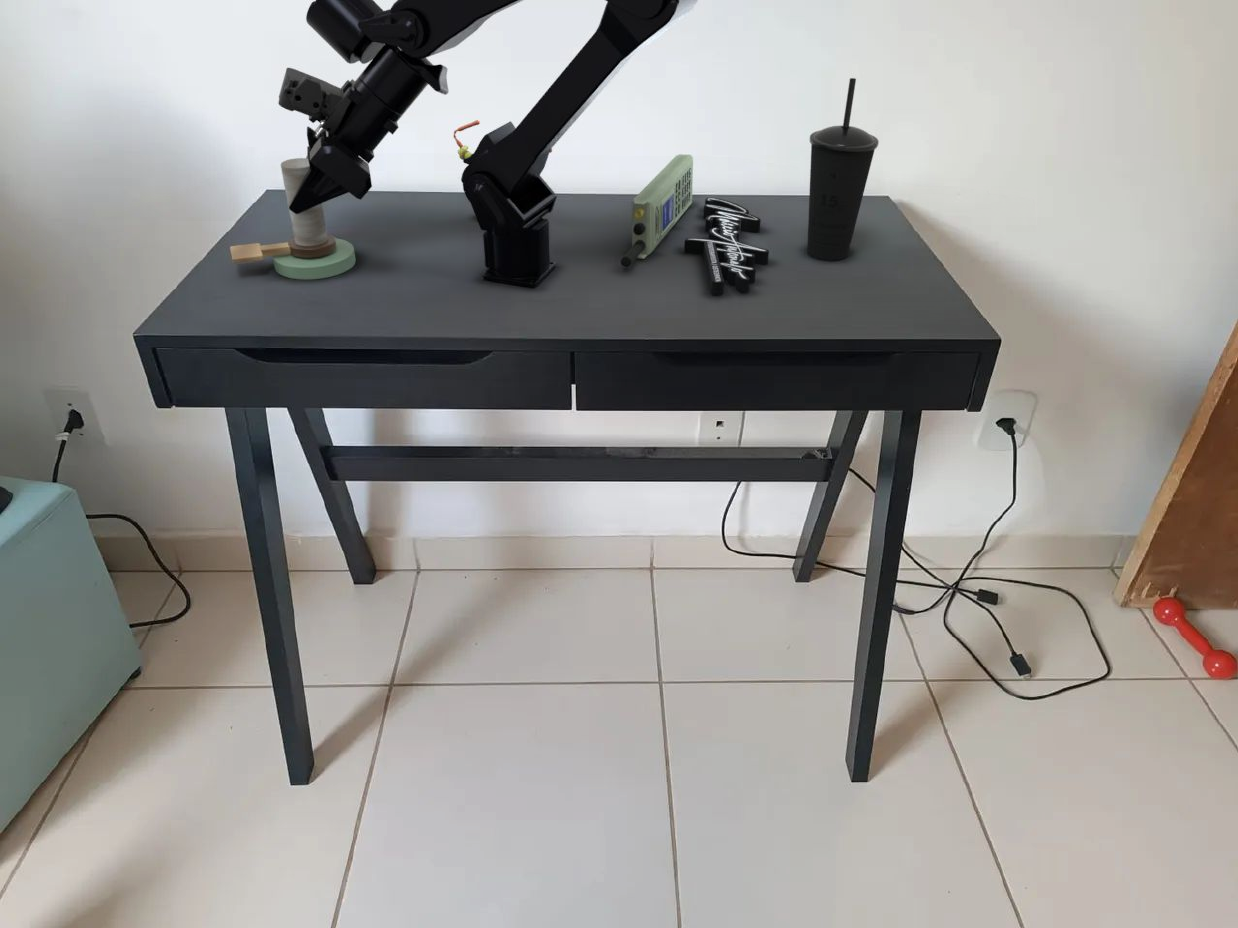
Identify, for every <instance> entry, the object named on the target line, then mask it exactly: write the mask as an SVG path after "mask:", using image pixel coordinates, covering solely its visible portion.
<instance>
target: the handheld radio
mask: <svg viewBox="0 0 1238 928" xmlns="http://www.w3.org/2000/svg"><path fill="white" fill-rule="evenodd" d="M693 176H694V157H693V155H691V154H681V153H680V154H677V155H675V156H674V157H673V158H672V159H671V160H670V161H669V163H667V164H666V165H665V166H664V167H663V169H661V170H660V172H659V173H657V175H656V176H655V177H654V178H653V179H652V180H651V181H649V183H648V184H647V185H646V186H645V187H644V188H643V189H642V190H641V191H640V192H639V193H638V194H637V195H636V196H635V197H634V198H633V199H632V201H631V247H630V248H629V249H628V251H627V252H625V254H624V255H623V256H622V257H621V258H620V265H621V266H622V267H623V268H629V267H631V266H632V264H633V263H634V262H635V261H636V259H640V260H644V259H646V258H647V257H648V256H649V255H650V254H652V253H653V252H654V250H655V249H656V248H657V246H658V245H660V243H661V242H662V241H663V239H664V238H665V237H666V235H667V234H668V233H669V232H670V230H671V229H672V228H673V227H674V226H675V224H677V222H679V220H680V218H681V217H682V216H683V214H684V213H685V212H686V211H687V209H689V207H690V206H691V205H692V204H693V183H694V182H693V180H694V177H693Z"/></svg>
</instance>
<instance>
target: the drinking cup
mask: <svg viewBox="0 0 1238 928" xmlns="http://www.w3.org/2000/svg"><path fill="white" fill-rule="evenodd" d="M856 82H857V78H856V77H855V78H854V77H850V78H849V81H848V87H847V95H846V102H845V108H844V114H843V115H844V116H843V123H842V125H832V126H828V127H825V128H823V129H821V130H817V131H814V132H812V133H811V134H810V135H809V139H808V140H809V143H810V145H811V147H810V149H811V150H810V169H809V171H810V173H809V197H808V198H809V199H808V221H807V245H806V246H807V247H806V248H807V249H806V252H807V254H808V255H809V256H810V257H811V258H814V259H817V260H820V261H827V262H836V261H837V262H838V261H842V260H844V259H846V258H848V256H849V251H850V248H851V245H852V240H853V237H854V232H855V228H856V223H857V220H858V216H859V212H860V209H861V204H862V200H863V196H864V193H865V190H866V189H865V188H866V185H867V182H868V177H869V173H870V169H871V165H872V161H873V158H874V154H875V150H876V149H877V148H878V147H879V139H878V138H877V137H876V136H875V135H872V134H871V133H868V132H867V131H866V130H864V129H862V128H859V127H856V126H851V125H850V123H851V116H852V108H853V102H854V97H855V96H854V95H855V90H856V89H855V88H856Z"/></svg>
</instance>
